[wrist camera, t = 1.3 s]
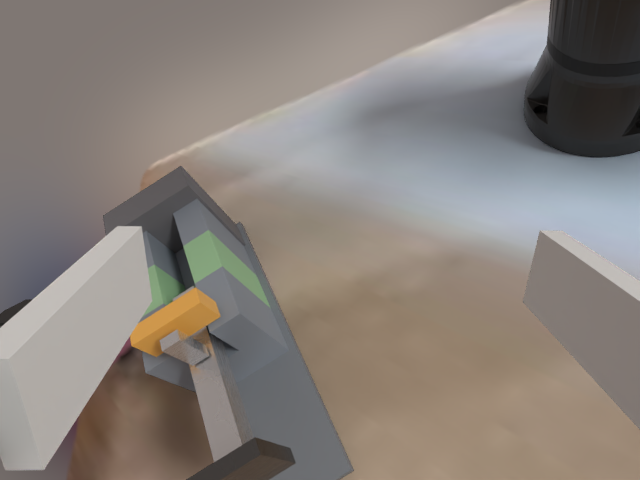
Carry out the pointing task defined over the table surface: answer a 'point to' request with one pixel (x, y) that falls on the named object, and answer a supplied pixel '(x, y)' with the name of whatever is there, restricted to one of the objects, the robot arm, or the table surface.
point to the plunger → (224, 412)
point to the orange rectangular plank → (175, 321)
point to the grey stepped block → (232, 319)
